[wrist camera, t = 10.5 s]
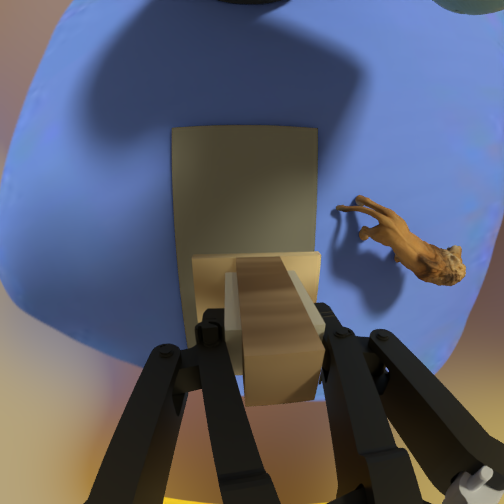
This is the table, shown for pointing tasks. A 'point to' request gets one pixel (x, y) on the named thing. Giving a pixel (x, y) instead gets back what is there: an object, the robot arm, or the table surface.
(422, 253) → the lion figurine
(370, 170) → the table surface
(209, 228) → the taupe mat
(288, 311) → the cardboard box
